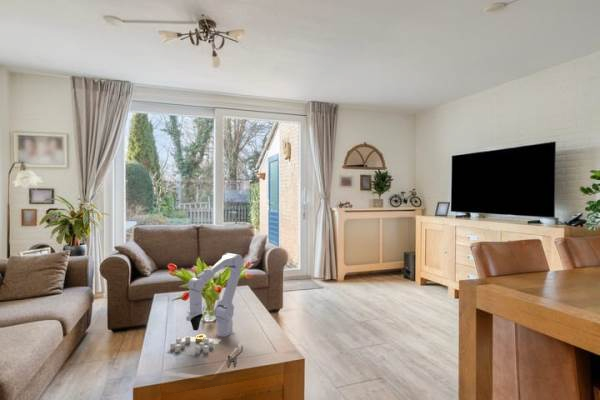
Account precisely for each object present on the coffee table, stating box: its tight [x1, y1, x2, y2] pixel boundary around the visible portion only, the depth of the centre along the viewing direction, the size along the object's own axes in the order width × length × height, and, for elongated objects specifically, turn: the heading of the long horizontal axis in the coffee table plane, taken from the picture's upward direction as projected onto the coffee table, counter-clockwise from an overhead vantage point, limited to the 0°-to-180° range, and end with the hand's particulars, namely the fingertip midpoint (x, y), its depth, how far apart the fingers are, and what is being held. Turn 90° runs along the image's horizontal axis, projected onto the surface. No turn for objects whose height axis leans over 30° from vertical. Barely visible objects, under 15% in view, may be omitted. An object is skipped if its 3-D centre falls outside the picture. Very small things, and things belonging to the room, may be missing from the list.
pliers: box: [226, 345, 244, 368], centre depth 153 cm, size 10×1×20 cm
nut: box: [195, 333, 207, 343], centre depth 165 cm, size 6×5×2 cm
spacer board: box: [166, 335, 222, 358], centre depth 159 cm, size 18×20×4 cm
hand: (195, 329), depth 160 cm, fingers closed
